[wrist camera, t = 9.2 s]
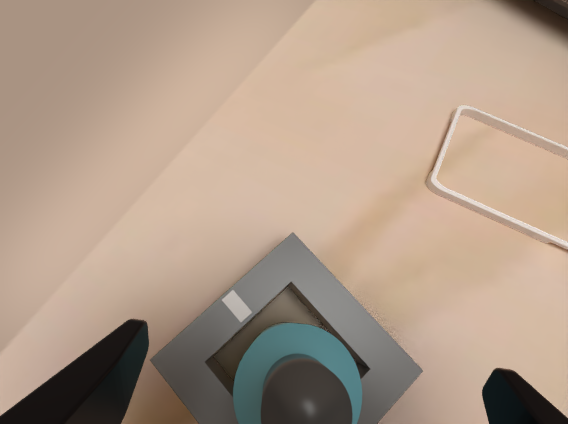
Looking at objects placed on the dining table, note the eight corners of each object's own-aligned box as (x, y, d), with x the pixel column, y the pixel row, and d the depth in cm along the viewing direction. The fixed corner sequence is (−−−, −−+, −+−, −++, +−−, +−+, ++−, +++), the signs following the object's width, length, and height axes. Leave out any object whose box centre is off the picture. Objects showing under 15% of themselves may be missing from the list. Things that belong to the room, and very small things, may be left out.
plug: (291, 417, 21) (322, 559, 8) (234, 366, 22) (185, 428, 9) (336, 354, 22) (422, 398, 10) (280, 307, 23) (293, 291, 10)
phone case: (641, 192, 27) (451, 111, 28) (660, 185, 25) (460, 101, 27) (624, 282, 25) (420, 190, 26) (644, 280, 23) (428, 184, 25)
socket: (279, 500, 20) (282, 535, 17) (165, 354, 22) (148, 360, 18) (402, 364, 22) (425, 371, 19) (289, 242, 24) (293, 230, 21)
